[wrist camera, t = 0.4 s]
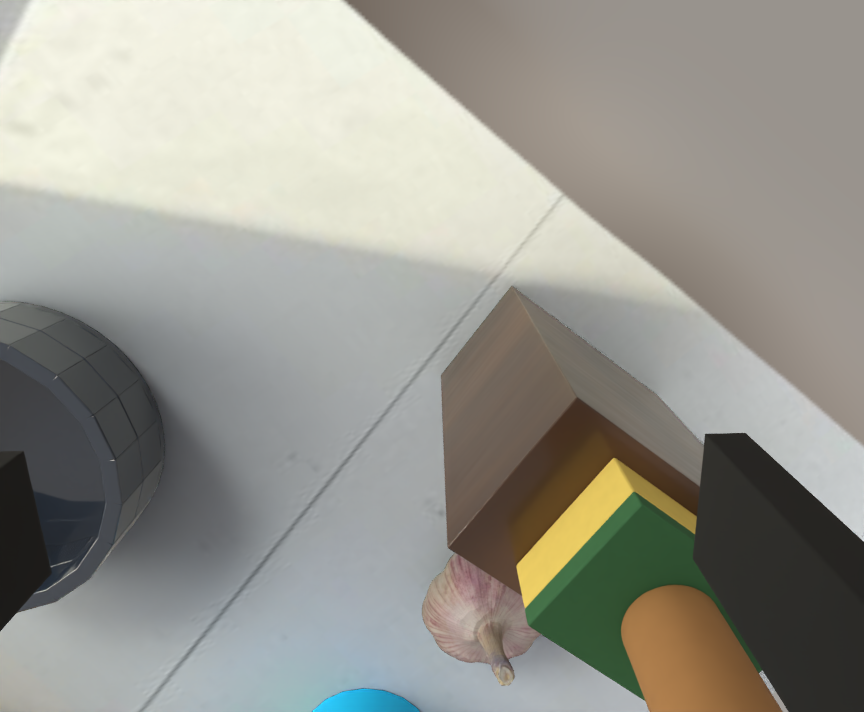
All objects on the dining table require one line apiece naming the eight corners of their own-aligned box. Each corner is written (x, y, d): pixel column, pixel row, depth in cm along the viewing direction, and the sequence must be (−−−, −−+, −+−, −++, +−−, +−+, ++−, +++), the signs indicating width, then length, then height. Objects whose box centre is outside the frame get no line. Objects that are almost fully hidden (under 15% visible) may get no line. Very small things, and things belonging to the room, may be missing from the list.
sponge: (514, 565, 20) (599, 990, 10) (613, 455, 19) (820, 806, 9) (662, 663, 21) (877, 1139, 11) (763, 564, 20) (1104, 990, 10)
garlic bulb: (536, 511, 38) (563, 603, 30) (561, 618, 40) (592, 729, 32) (406, 540, 38) (400, 638, 31) (437, 643, 40) (439, 759, 33)
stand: (440, 375, 35) (446, 548, 20) (511, 285, 34) (576, 396, 19) (585, 477, 37) (692, 708, 22) (658, 396, 36) (829, 581, 20)
